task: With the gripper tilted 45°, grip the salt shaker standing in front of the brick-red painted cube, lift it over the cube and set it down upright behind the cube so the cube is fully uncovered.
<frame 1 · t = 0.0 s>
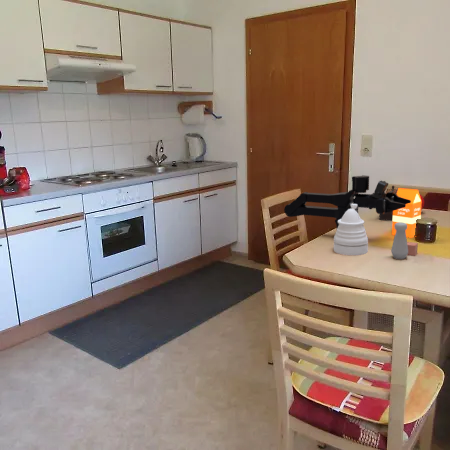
hand: (408, 203, 177), 17 cm above the table, tool horizontal, fingers open, 9 cm apart
tomato: (410, 213, 235), on the table
coffee grinder: (389, 219, 223), on the table
salt shaker: (399, 258, 165), on the table
honey pot: (350, 251, 176), on the table
cube: (410, 253, 168), on the table
orange juice: (405, 234, 195), on the table
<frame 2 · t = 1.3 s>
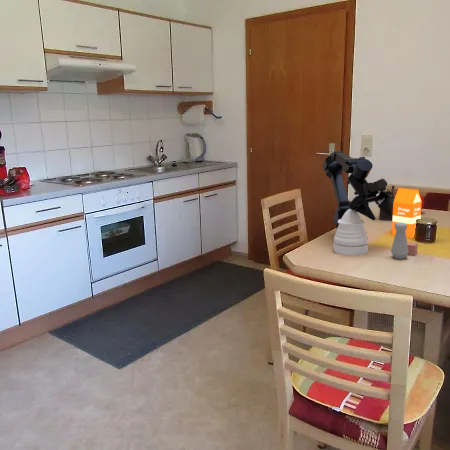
hand: (383, 218, 168), 14 cm above the table, tool tilted 45°, fingers open, 9 cm apart
nothing on the table moved.
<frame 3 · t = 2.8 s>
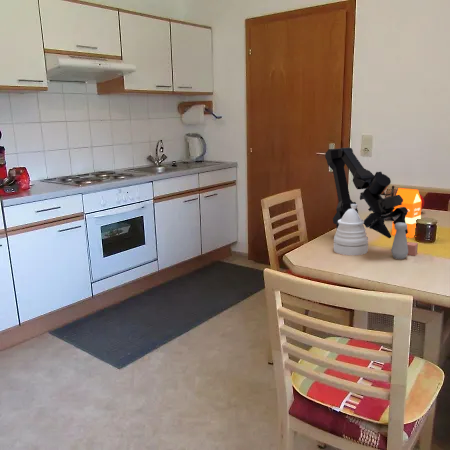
hand: (399, 235, 163), 8 cm above the table, tool tilted 45°, fingers open, 9 cm apart
nothing on the table moved.
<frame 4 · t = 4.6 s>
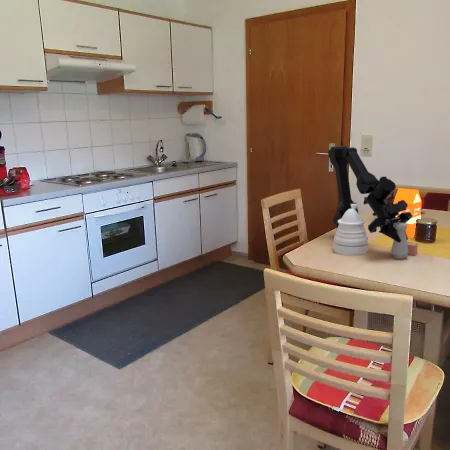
hand: (403, 241, 162), 7 cm above the table, tool tilted 45°, fingers closed on salt shaker, 3 cm apart
salt shaker: (399, 258, 165), on the table, touching gripper
everything else where it was.
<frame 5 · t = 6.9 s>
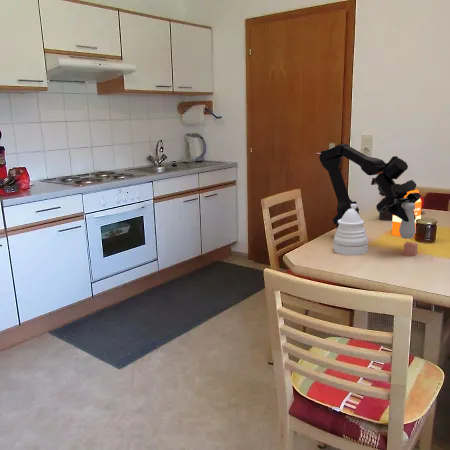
hand: (411, 220, 164), 13 cm above the table, tool tilted 45°, fingers closed on salt shaker, 3 cm apart
salt shaker: (407, 237, 166), point 6 cm above the table, touching gripper
everything else where it was.
when the fingers open (8 cm above the table, at t = 9.2 s): salt shaker drops 1 cm, on the table.
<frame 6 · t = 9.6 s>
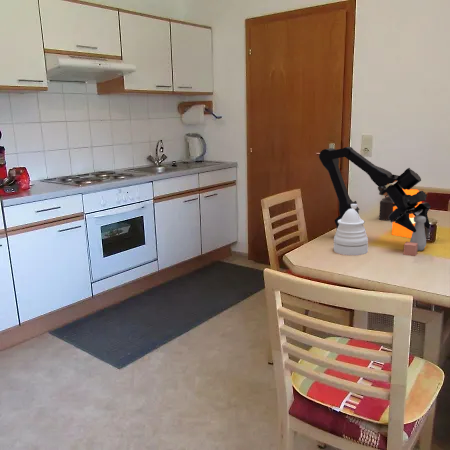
hand: (422, 229, 170), 8 cm above the table, tool tilted 45°, fingers open, 8 cm apart
salt shaker: (417, 249, 173), on the table
everything else where it was.
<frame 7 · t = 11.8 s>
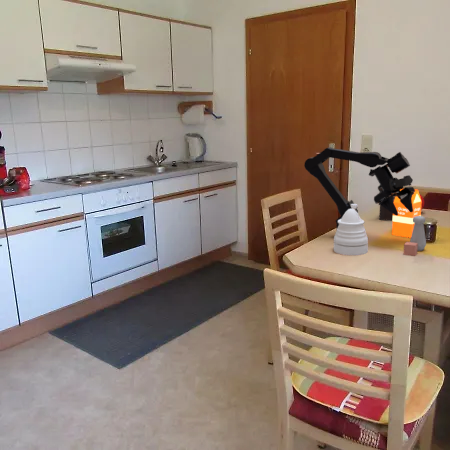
hand: (404, 213, 175), 13 cm above the table, tool tilted 40°, fingers open, 9 cm apart
nothing on the table moved.
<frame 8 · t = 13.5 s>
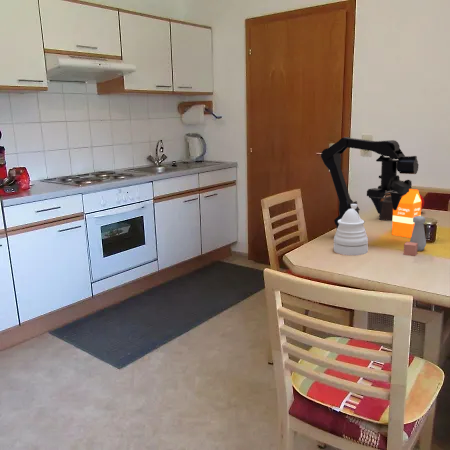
hand: (387, 211, 180), 13 cm above the table, tool pointing down, fingers open, 9 cm apart
nothing on the table moved.
at the end: salt shaker inside the target area (0.3 cm from its centre), on the table; salt shaker tilted 0°; cube moved 0.1 cm from its start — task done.
